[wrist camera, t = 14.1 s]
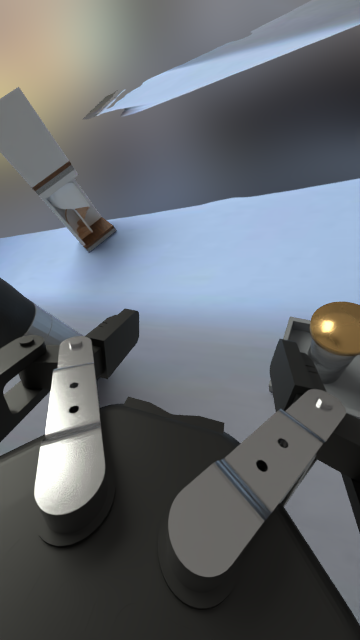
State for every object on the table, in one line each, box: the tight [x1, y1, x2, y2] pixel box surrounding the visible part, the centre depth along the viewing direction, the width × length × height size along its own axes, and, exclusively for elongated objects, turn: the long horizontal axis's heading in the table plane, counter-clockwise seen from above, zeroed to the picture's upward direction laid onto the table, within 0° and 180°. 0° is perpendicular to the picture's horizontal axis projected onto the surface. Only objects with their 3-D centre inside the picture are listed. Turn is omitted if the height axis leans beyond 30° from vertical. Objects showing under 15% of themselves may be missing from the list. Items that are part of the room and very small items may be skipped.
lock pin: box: [307, 302, 360, 384], centre depth 26 cm, size 6×6×12 cm
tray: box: [269, 317, 360, 419], centre depth 30 cm, size 11×11×3 cm
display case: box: [0, 87, 116, 252], centre depth 61 cm, size 11×11×35 cm
